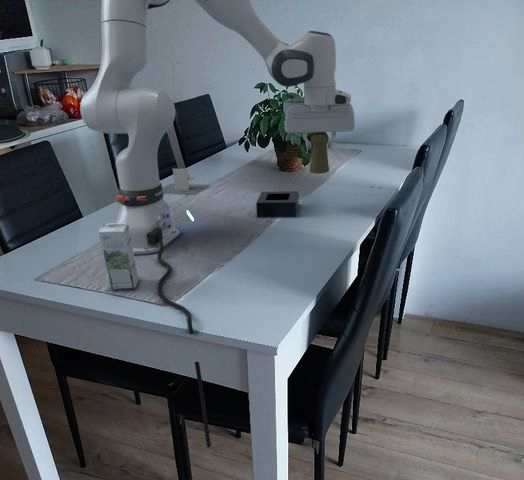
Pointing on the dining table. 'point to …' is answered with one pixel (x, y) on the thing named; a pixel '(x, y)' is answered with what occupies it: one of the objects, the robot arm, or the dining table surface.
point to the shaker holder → (278, 204)
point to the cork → (319, 153)
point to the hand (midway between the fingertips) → (319, 148)
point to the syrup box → (119, 255)
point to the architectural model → (182, 183)
